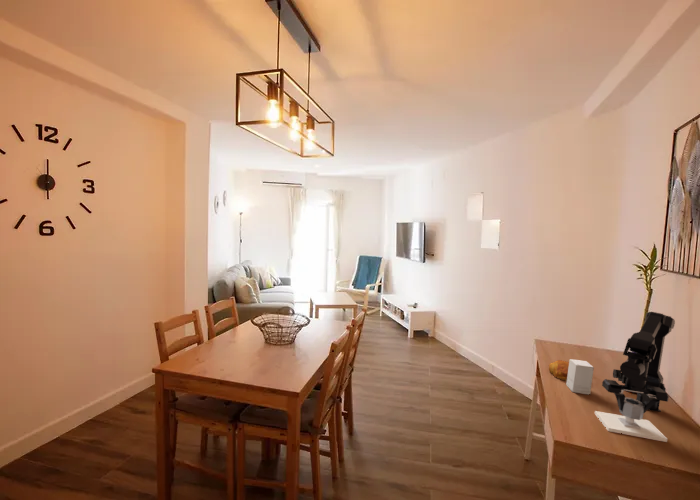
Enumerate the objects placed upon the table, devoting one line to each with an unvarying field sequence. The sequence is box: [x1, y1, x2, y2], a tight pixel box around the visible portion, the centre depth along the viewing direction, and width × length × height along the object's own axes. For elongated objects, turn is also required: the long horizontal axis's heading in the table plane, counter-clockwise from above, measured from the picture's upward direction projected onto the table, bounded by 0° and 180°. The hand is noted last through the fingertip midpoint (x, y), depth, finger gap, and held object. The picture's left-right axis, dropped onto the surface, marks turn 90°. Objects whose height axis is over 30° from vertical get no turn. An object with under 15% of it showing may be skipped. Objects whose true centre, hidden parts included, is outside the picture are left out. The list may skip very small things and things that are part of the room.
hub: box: [618, 396, 645, 420], centre depth 132 cm, size 6×6×5 cm
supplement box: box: [565, 358, 595, 395], centre depth 160 cm, size 7×7×13 cm
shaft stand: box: [594, 410, 668, 443], centre depth 132 cm, size 18×12×7 cm, turn 76°
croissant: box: [548, 359, 569, 382], centre depth 174 cm, size 14×16×8 cm
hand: (630, 411), depth 132 cm, fingers closed on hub, 6 cm apart
